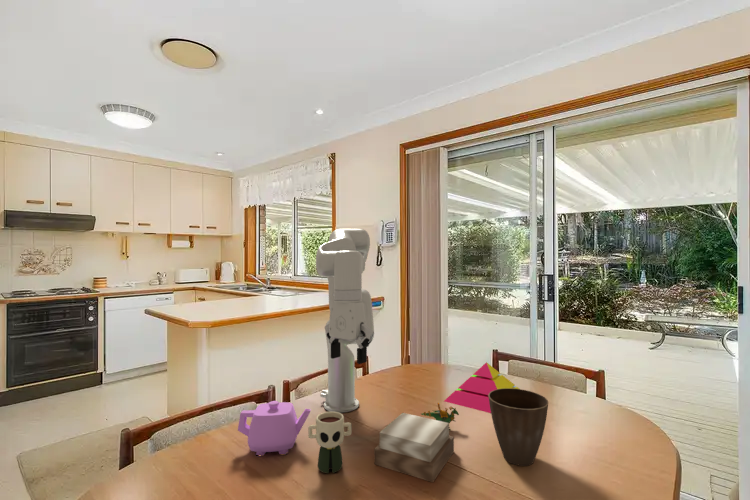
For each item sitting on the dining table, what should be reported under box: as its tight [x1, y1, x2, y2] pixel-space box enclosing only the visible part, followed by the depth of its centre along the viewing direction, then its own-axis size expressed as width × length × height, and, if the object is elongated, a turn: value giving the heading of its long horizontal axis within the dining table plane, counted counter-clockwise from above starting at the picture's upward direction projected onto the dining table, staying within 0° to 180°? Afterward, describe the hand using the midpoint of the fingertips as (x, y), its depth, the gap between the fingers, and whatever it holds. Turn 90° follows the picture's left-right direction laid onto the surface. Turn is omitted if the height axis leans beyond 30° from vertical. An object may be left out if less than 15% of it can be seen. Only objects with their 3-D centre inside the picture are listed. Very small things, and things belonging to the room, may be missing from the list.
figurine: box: [420, 402, 460, 431], centre depth 117 cm, size 3×12×8 cm, turn 92°
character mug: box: [307, 411, 352, 474], centre depth 96 cm, size 11×7×13 cm, turn 98°
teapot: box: [237, 400, 312, 457], centre depth 107 cm, size 20×12×13 cm, turn 96°
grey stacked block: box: [373, 412, 455, 483], centre depth 101 cm, size 16×16×8 cm
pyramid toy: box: [443, 361, 520, 414], centre depth 142 cm, size 25×25×14 cm
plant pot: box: [488, 388, 549, 467], centre depth 100 cm, size 15×15×16 cm
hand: (348, 360), depth 101 cm, fingers open, 9 cm apart
